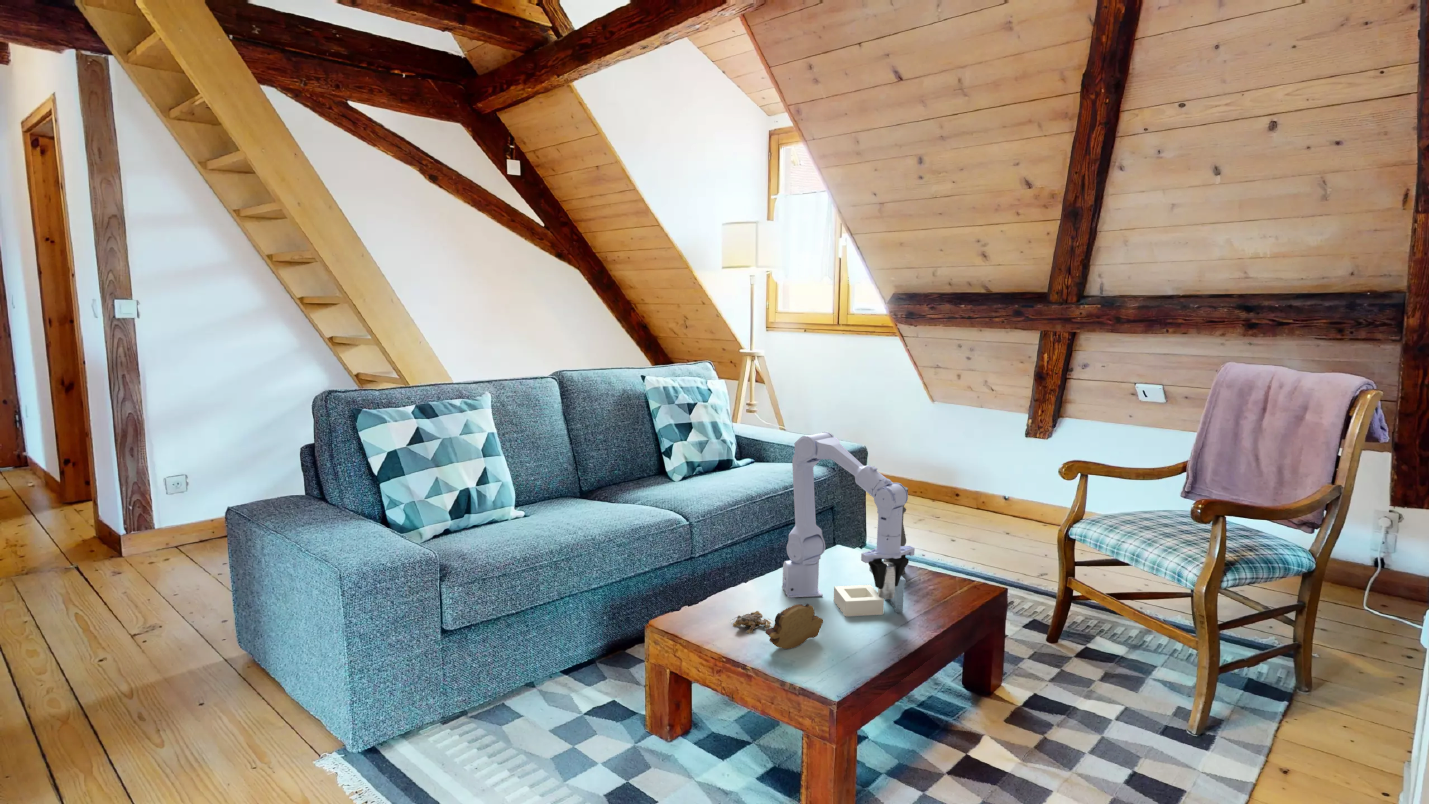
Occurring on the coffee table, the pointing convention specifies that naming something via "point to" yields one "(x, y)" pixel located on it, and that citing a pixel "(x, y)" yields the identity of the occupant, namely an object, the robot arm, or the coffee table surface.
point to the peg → (888, 582)
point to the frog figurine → (752, 621)
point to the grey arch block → (897, 595)
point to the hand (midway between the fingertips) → (886, 586)
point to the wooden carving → (794, 626)
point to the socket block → (858, 600)
